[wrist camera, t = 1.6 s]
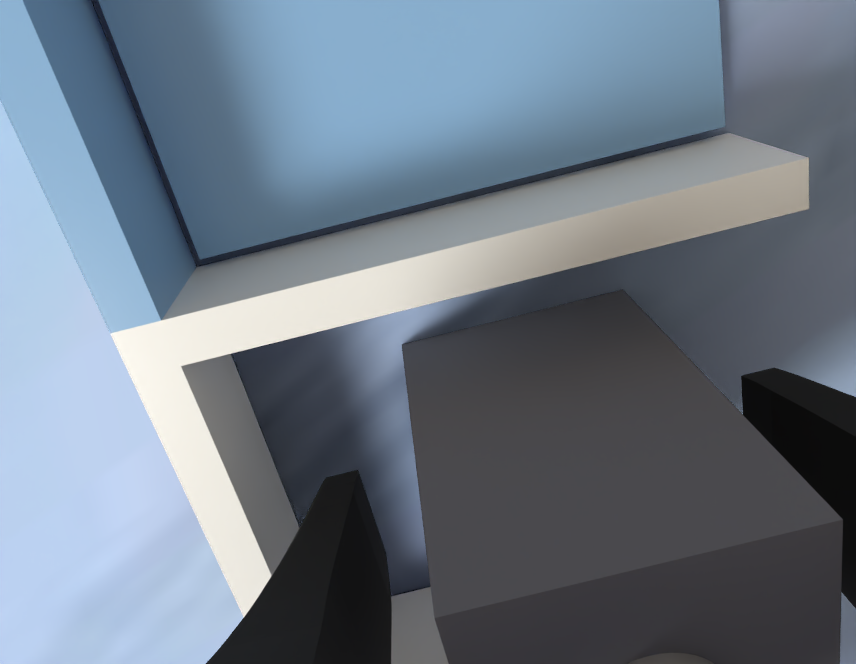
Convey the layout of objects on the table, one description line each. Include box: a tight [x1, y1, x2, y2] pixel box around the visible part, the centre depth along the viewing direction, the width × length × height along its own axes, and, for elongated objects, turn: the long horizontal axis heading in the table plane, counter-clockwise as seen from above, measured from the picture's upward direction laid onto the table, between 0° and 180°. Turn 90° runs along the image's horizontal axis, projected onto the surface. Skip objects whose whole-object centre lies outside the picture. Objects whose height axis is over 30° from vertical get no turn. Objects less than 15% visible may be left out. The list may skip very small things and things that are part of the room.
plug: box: [402, 290, 843, 664], centre depth 11 cm, size 4×4×8 cm
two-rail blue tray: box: [0, 0, 809, 664], centre depth 12 cm, size 18×11×2 cm, turn 13°
